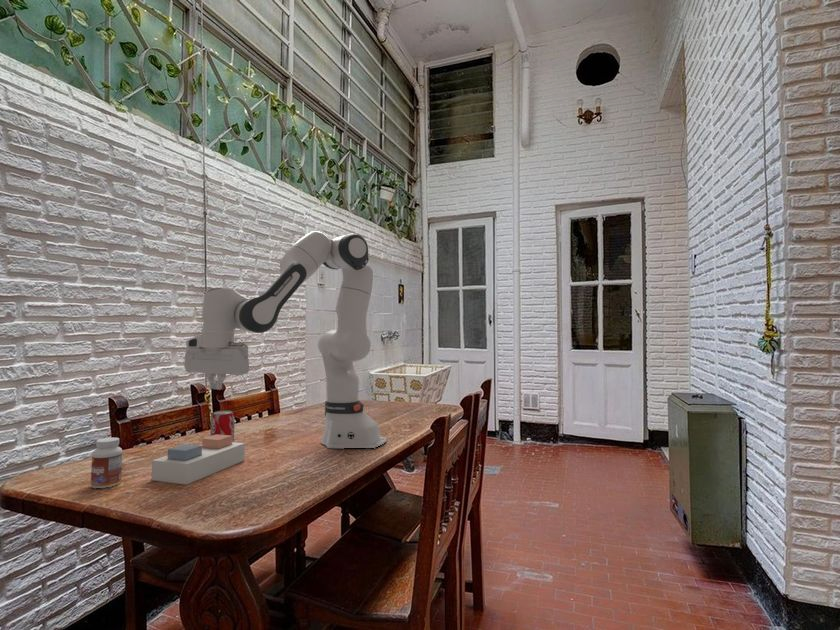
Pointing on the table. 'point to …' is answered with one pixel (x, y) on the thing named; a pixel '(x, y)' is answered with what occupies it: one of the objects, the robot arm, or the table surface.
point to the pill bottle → (106, 463)
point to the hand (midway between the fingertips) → (215, 389)
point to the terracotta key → (217, 441)
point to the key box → (197, 464)
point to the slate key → (184, 452)
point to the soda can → (222, 423)
